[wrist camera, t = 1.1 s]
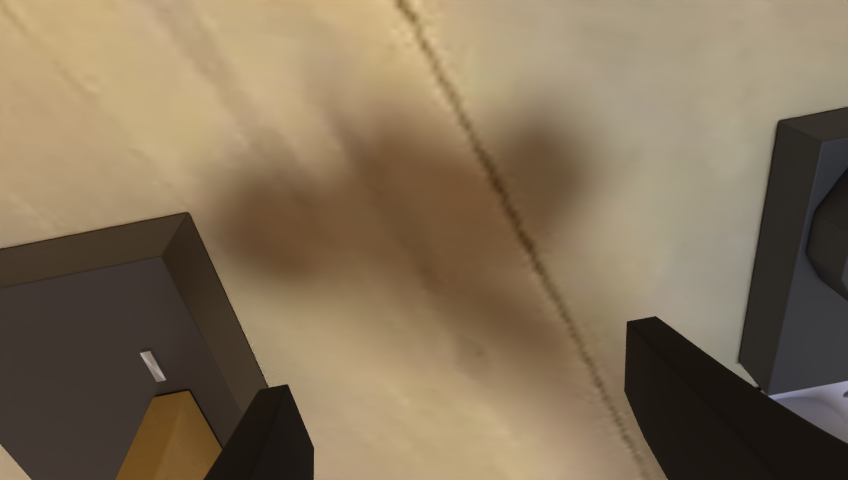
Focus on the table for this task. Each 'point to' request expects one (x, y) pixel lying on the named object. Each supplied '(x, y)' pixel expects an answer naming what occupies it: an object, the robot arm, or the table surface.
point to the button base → (802, 261)
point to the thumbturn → (171, 442)
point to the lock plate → (113, 345)
